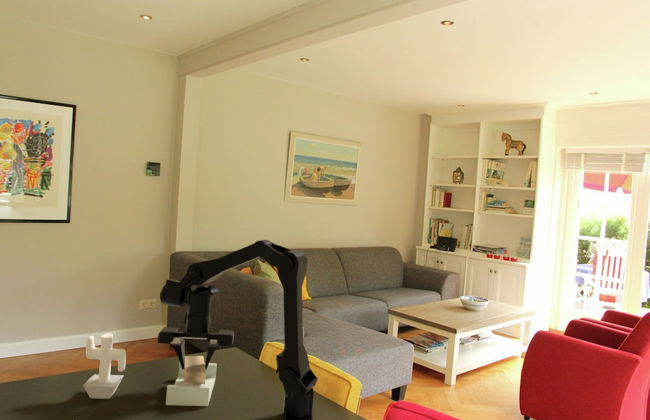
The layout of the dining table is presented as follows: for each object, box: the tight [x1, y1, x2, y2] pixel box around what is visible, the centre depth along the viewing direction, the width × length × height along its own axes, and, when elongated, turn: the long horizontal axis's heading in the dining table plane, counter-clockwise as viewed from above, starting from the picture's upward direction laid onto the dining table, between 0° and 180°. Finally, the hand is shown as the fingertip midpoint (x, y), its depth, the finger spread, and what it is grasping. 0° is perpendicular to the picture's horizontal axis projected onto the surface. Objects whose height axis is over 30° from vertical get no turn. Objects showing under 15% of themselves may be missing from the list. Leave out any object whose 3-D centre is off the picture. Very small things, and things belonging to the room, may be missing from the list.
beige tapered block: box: [184, 355, 206, 385], centre depth 124 cm, size 5×12×3 cm, turn 17°
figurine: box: [83, 332, 127, 400], centre depth 117 cm, size 7×9×15 cm
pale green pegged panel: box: [165, 362, 217, 407], centre depth 124 cm, size 10×17×4 cm, turn 7°
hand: (194, 369), depth 124 cm, fingers closed on beige tapered block, 5 cm apart
